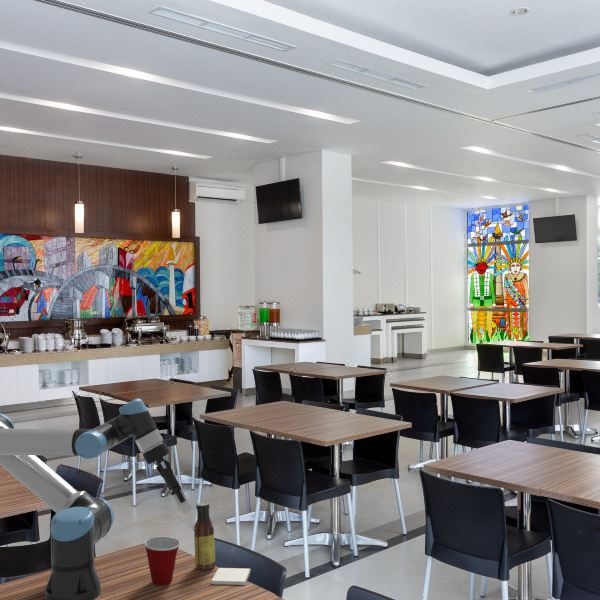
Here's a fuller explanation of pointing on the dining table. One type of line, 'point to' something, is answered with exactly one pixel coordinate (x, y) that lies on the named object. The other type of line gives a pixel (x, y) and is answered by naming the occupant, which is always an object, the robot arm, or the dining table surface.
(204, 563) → the sauce bottle
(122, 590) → the dining table surface
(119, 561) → the dining table surface
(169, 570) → the plastic cup
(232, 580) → the cream pad
